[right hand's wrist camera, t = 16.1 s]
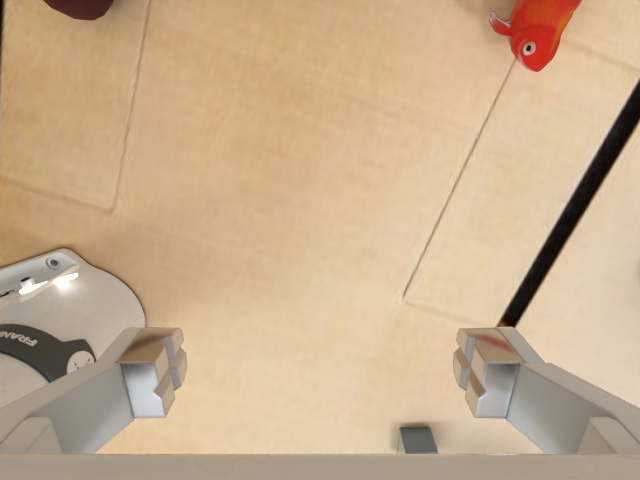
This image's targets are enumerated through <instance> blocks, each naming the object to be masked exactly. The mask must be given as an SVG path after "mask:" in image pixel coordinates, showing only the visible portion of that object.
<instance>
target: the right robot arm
mask: <svg viewBox="0 0 640 480" xmlns="http://www.w3.org/2000/svg"><path fill="white" fill-rule="evenodd" d="M55 260H56V261H57V262H58V263H56V262H55ZM183 341H184V339H183V334H182V330H181V329H179V328H159V327H145V316H144V312H143V309H142V306H141V304H140V302H139V300H138V299H137V297H136V296H135V295H134V293H133V292H132V291H131V290H130V289H129V288H128V287H127V286H126V285H125V284H124V283H123V282H122V281H120V280H119V279H117V278H116V277H114V276H113V275H111V274H109V273H107V272H105V271H103V270H100V269H98V268H95V267H93V266H91V265H89V264H88V263H86V262H85V261H84V260H83V259H82V258H81V257H79V256H78V255H77V254H76V253H74V252H73V251H71V250H69V249H66V248H62V249H58V250H55V251H52V252H49V253H46V254H43V255H40V256H37V257H34V258H31V259H28V260H25V261H22V262H19V263H16V264H13V265H10V266H7V267H4V268H1V269H0V480H640V408H638V407H636V406H634V405H632V404H630V403H628V402H626V401H624V400H622V399H620V398H618V397H616V396H614V395H613V394H611V393H609V392H607V391H605V390H603V389H601V388H599V387H597V386H595V385H593V384H591V383H589V382H587V381H585V380H583V379H581V378H579V377H577V376H575V375H573V374H571V373H569V372H567V371H565V370H563V369H561V368H560V367H558V366H556V365H554V364H552V363H545V362H544V361H543V360H542V359H541V357H540V356H539V355H538V354H537V353H536V352H535V350H534V349H533V348H532V347H531V346H530V345H529V344H528V342H527V341H526V340H525V339H524V338H523V337H522V336H521V334H520V333H519V332H518V331H517V330H516V329H515V328H513V327H494V328H460V329H459V331H458V333H457V338H456V341H457V343H458V344H459V346H460V347H459V348H458V350H457V351H456V352H455V353H454V358H453V369H454V375H455V378H456V381H457V383H458V385H459V387H461V388H462V389H464V390H465V391H466V395H465V400H466V402H467V404H468V406H469V408H470V410H471V412H472V414H473V416H474V418H507V419H506V420H507V421H508V422H509V423H510V424H512V425H513V426H514V427H515V428H516V429H518V430H519V431H520V432H521V433H522V434H523V435H525V436H526V437H527V438H528V439H529V440H530V441H532V442H533V443H534V444H535V445H536V446H538V447H539V448H540V449H541V450H542V451H543V452H545V453H546V454H94V453H95V452H97V451H98V450H99V449H100V448H101V447H103V446H104V445H105V444H106V443H107V442H108V441H110V440H111V439H112V438H113V437H114V436H116V435H117V434H118V433H119V432H120V431H121V430H123V429H124V428H125V427H126V426H127V425H129V424H130V423H131V422H132V421H133V420H134V419H133V418H165V417H166V416H167V414H168V412H169V410H170V408H171V406H172V404H173V402H174V400H175V395H174V391H175V390H176V389H178V388H179V387H181V385H182V383H183V381H184V379H185V374H186V370H187V357H186V353H185V352H184V351H183V350H182V348H181V347H180V346H181V344H182V343H183Z"/></svg>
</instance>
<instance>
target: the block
mask: <svg viewBox="0 0 640 480" xmlns="http://www.w3.org/2000/svg"><path fill="white" fill-rule="evenodd" d="M397 453H398V454H438V451H437V448H436V445H435V442H434V439H433V436H432V433H431V430H430V428H399V440H398V452H397Z"/></svg>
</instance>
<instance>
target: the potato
mask: <svg viewBox="0 0 640 480" xmlns="http://www.w3.org/2000/svg"><path fill="white" fill-rule="evenodd" d="M44 1H45V2H46V3H47V4H48V5H49V6H50V7H51V8H53V9H55V10H57V11H59V12H61V13H64V14H66V15H68V16H70V17H72V18H74V19H81V20H95V19H97V18H99V17H101V16H103V15H105V13H106V12H107V10H108V9H109V7H110V6H111V5H112V3H113V0H44Z"/></svg>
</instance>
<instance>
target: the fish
mask: <svg viewBox="0 0 640 480" xmlns="http://www.w3.org/2000/svg"><path fill="white" fill-rule="evenodd" d="M581 2H582V0H518V2H517V3H516V5H515V7H514V9H513V11H512V14H511V17H510V20H507V21H503V20H501V19H499V18H498V16H497V15H496V13H495V12H494V11H491V16H490V20H489V22H490V24H491V26H492V27H493V29H494V31H495V32H497V33H498V34H499V35H500V36H502V37H508V39H509V44H510V47H511V50H512V52H513V53H514V55H515V57H516V58H517V60H518V61H519V63H521V64H522V65H523V66H524V67H525V68H526V69H528V70H530V71H535V72H538V71H541V70H542V69H543V68H544V67H545V66H546V65H547V64H548V63H549V62H550V61H551V60H552V59H553V57H554V55H555V53H556V51H557V49H558V46H559V43H560V38H561V34H562V32H563V30H564V29H565V27H566V25H567V23H568V22H569V20H570V18H571V17H572V14H573V12H574V11H575V9H576V8H577V7H578V6H579V5H580V3H581Z"/></svg>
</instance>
